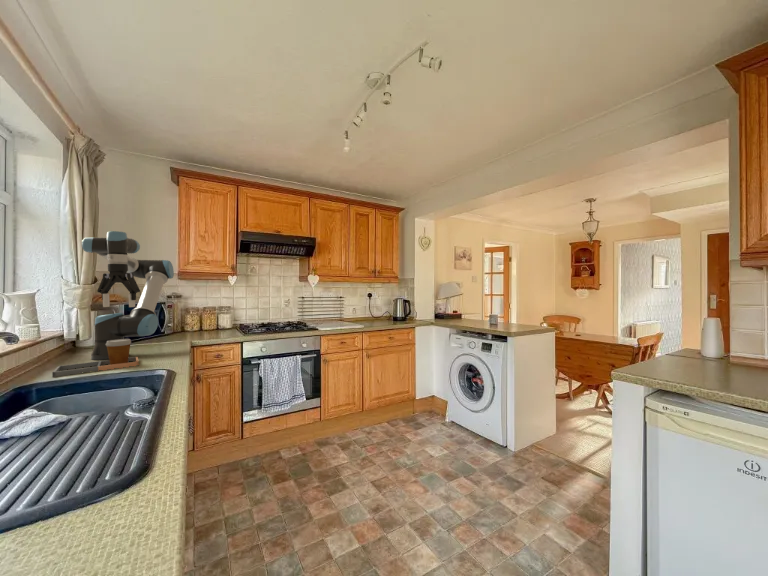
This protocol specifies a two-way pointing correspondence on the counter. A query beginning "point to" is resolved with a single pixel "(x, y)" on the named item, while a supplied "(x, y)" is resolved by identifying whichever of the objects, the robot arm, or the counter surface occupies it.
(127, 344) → the disposable coffee cup
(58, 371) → the cup carrier
